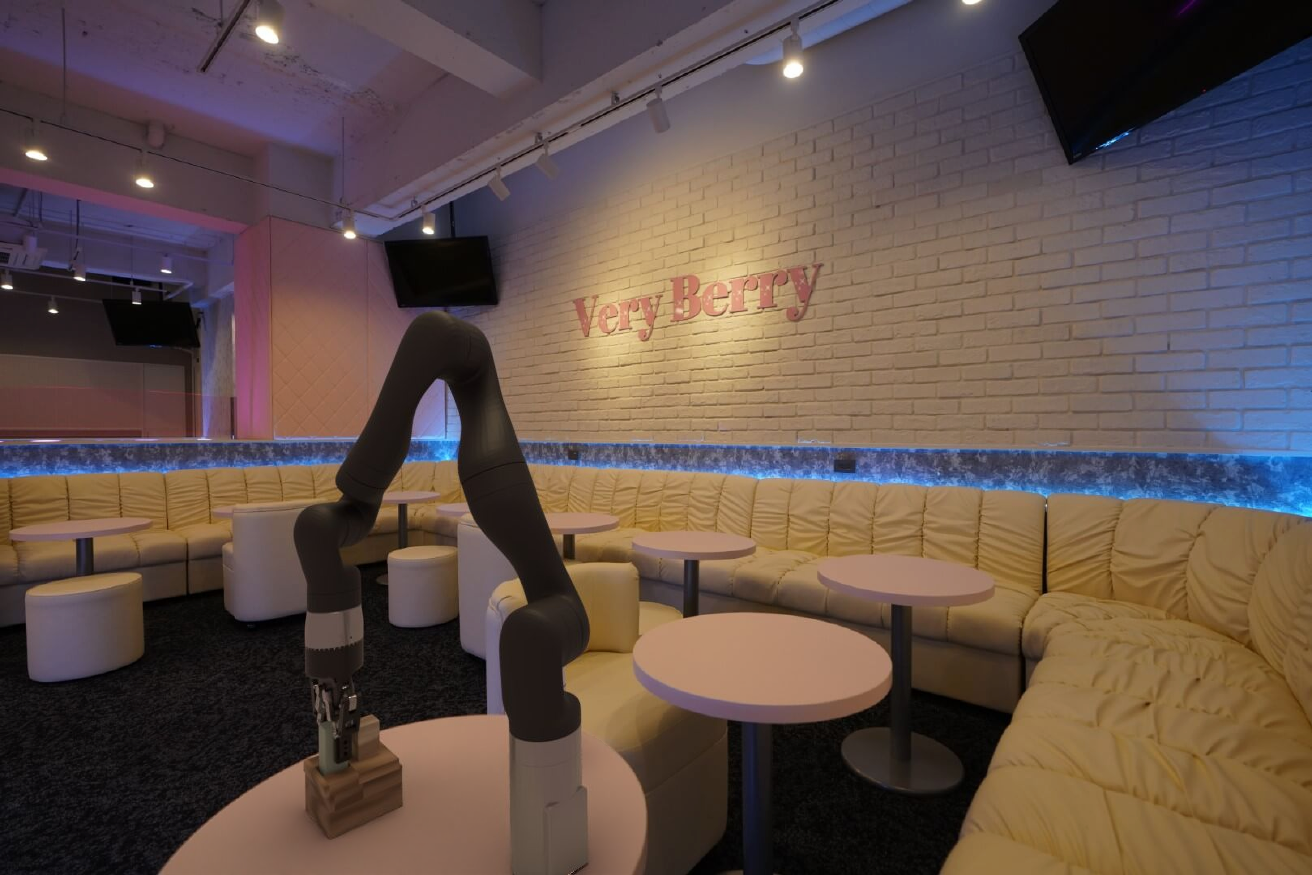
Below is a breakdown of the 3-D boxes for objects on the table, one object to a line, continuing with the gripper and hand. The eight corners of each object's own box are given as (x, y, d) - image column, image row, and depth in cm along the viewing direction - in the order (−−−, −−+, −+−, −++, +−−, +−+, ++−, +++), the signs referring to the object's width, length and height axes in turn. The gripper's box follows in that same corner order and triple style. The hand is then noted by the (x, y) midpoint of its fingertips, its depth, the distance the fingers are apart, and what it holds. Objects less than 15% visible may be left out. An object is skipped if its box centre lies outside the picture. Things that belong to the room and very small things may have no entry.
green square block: (348, 792, 85) (347, 722, 85) (325, 801, 83) (325, 730, 83) (341, 784, 87) (341, 716, 87) (319, 792, 85) (318, 723, 85)
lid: (399, 768, 86) (398, 724, 86) (324, 798, 79) (324, 750, 79) (374, 745, 93) (373, 704, 93) (303, 770, 86) (303, 726, 86)
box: (402, 805, 87) (402, 764, 87) (330, 839, 80) (329, 795, 80) (374, 780, 94) (374, 743, 94) (305, 809, 86) (305, 769, 87)
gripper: (381, 641, 83) (382, 761, 83) (343, 622, 93) (344, 730, 93) (324, 655, 78) (325, 784, 78) (290, 634, 87) (290, 748, 87)
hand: (335, 754), depth 85 cm, fingers open, 5 cm apart
